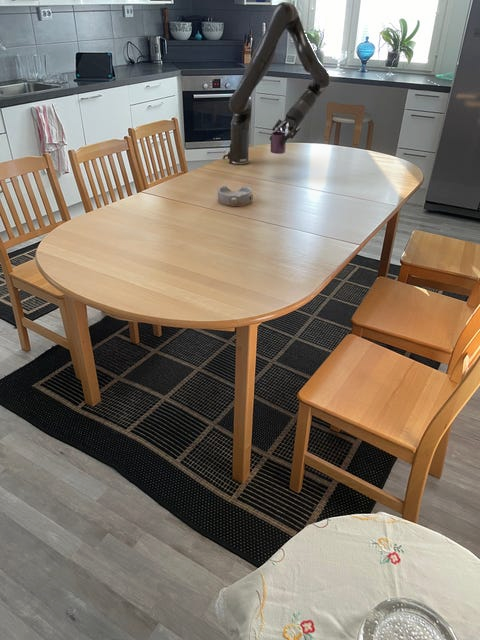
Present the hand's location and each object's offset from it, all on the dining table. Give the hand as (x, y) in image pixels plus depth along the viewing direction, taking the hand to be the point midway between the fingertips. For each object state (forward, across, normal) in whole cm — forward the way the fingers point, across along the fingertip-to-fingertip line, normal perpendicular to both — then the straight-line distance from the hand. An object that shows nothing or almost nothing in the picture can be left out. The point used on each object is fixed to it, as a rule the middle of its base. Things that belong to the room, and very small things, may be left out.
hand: (275, 142), depth 222 cm
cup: (+2, 0, +4) cm, 5 cm away
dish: (+35, +17, -11) cm, 41 cm away
